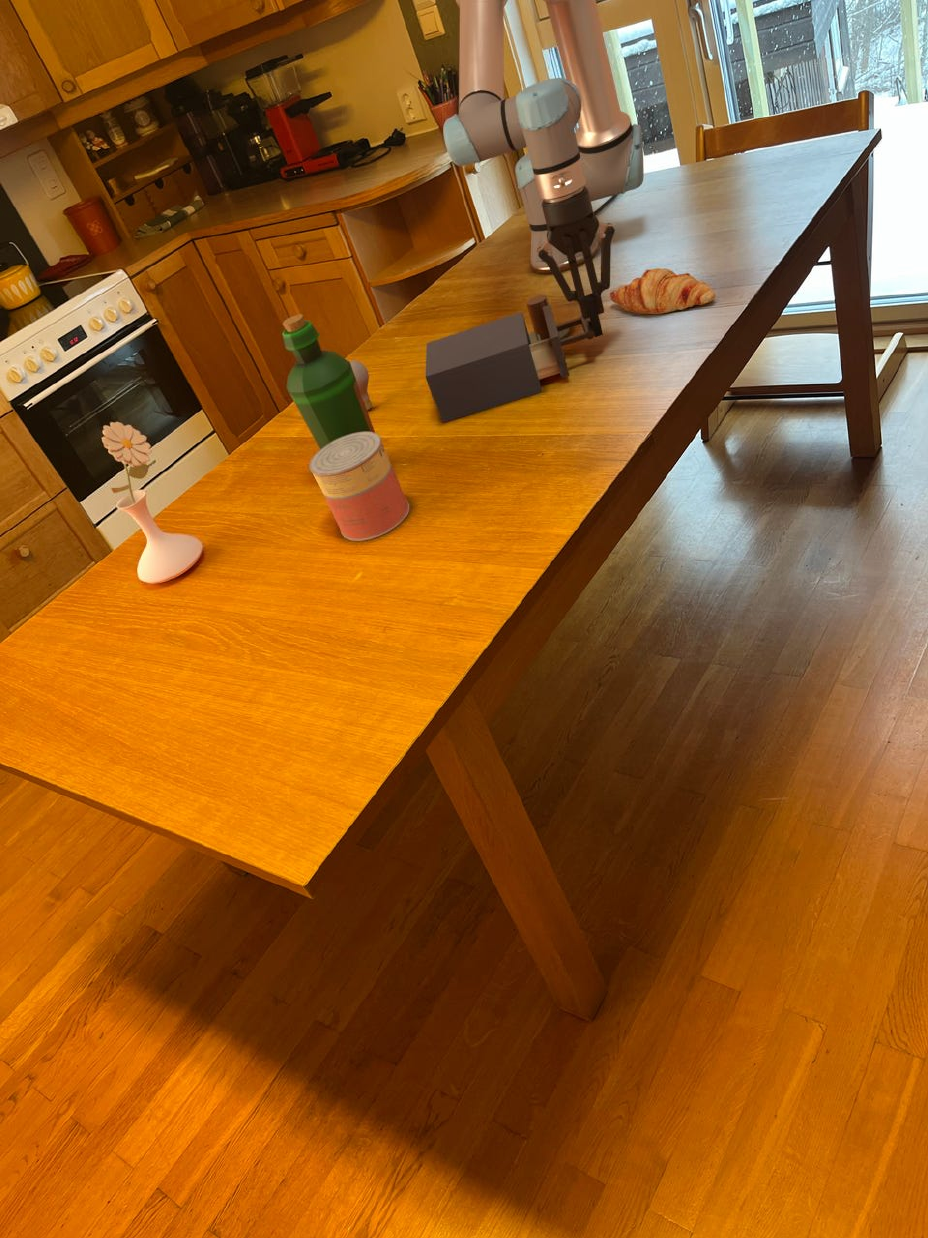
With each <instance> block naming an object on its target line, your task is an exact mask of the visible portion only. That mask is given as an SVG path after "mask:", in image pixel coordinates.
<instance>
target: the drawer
mask: <svg viewBox="0 0 928 1238" xmlns="http://www.w3.org/2000/svg"><path fill="white" fill-rule="evenodd" d="M543 310H544V314H545V318H546V322H547V327H548V331H549V335H550V338H548V339H545V340H542V341H539V342H536V343H533V344H530V345H529V347H530V351H531V354H532V358H533V361H534V364H535V368H536V371H537V375H538V378H539V380H540V381H541V380H543V379H545V378H548V377H552V376H555V375H560V377H561V379H562V378H565V377H568V376H570V372H569V369H568V368H569V367H568V365H567V361H566V358H565V353H564V350H563V347H565V346H568V345H571V344H574V343H577V342H578V343H579V342H581V341H584V340H588V341H591V340H593V339H594V338H595V334H594V331H593V328H592V325H591V322H590V319H589V318H587V319H584V318H583V317H582V314H580V316H579V317H577V318H575V319H571V320H569V321H565V322H562V323H558V324H559V325H556V324H557V323H556V321H555V317H554V312H553V309H552V306H551V304H549V305H548V306H545V307H543ZM577 326H581V328H582V331H583V332H580V333H577V334H574V335H571V336H567V337H566V338H565V339H562V340H560V339H559V335H558V332H559V331H562V330H565V329H568V328H569V329H570V328H571V329H572V328H574V327H577Z"/></svg>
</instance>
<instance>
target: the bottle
mask: <svg viewBox="0 0 928 1238" xmlns="http://www.w3.org/2000/svg"><path fill="white" fill-rule="evenodd" d="M282 325H283V326H284V328H285V329H284V330H283V331H282V333H281V334H282V338H283V342H284V343H283V344H284V347H285V349H286V350H287V351H291V353H292V354H293V356H294V358H295V360H296V361H295V363H294V365H293V366H292V368H291V370H290V371H289V373H288V376H287V381H286V391H287V392H288V394H289V396H290V398H291V399H292V401H293V402H294V405H295V407H296V408H297V410H298V412H299V413H300V416H301V417H302V419H303V421H304V423H305V425H306V427H307V428H308V430H309V431H310V433H311V435H312V438H313V439H314V440H315V442H316V445H317V446H318V448H319V450H320V449H321V448H323V447H324V446H326V445H327V444H329V443H330V442H332V441H334V440H336V439H338V438H341V437H343V436H346V435H349V434H353V433H357V432H374V433H376V430H375V428H374V425H373V422H372V420H371V417H370V414H369V411H367V408H366V406H365V403H364V400H363V397H362V395H361V392H360V389H359V386H358V384H357V381H356V378H355V375H354V372H353V370H352V367H351V364H350V362H349V361H350V360H348V359H346V358H344V357H343V356H342V355H340V354H339V353H337V351H336V352H335V351H331V350H330V351H329V350H322V348H321V346H320V343H319V337H320V333H319V332H318V330H317V329H316V327H315V326H314V324H313V323H312V321H310V320H308V319H307V320H305V318H304V314H302V313H301V314H300V313H299V314H295V315H293V316H290V317H288V318H286V319H285V320H283V322H282Z"/></svg>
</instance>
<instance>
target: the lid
mask: <svg viewBox="0 0 928 1238" xmlns="http://www.w3.org/2000/svg"><path fill="white" fill-rule="evenodd" d="M525 304H526V308H527V311H528V316H529V318H530V322H531V325H532V329H533V331H532V332H530V333H528V334H529V338H530V341H531V344H533V343H536V342H539V341H542V340H545V339H548V338H550V335H549V331H548V327H547V322H546V318H545V314H544V310H543V307H545V306H548V305H550V302H549V298H548V296H547V294H537V295H535V296H532V297H530V298H528V299H527V300H526V302H525ZM555 324H556V325H559V324H560V323H555ZM570 331H571V330H570V328H568V329H565V330H562V331H559V332H558V335H559V339H560V340H562V339H565V338H568V337H569V334H570Z"/></svg>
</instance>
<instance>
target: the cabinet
mask: <svg viewBox="0 0 928 1238" xmlns="http://www.w3.org/2000/svg"><path fill="white" fill-rule="evenodd" d="M527 327H528V326H527V324H526V321H525V318H524V313H523V311H519V312H517V313H514V314H510V315H507V316H504V317H502V318H498V319H495V320H491V321H489V322H487V323H483V324H480V325H477V326H474V327H472V328H471V327H470V328H468V329H465V330H462V331H459V332H456V333H454V334H450V335H448V336H444V337H442V338H438V339H435V340H431V341H429V342H426V353H425V380H426V383H427V386H428V388H429V390H430V394H431V395H432V398H433V401H434V404H435V407H436V409H437V412H438V414H439V417H440V420H441V422H442V424H444V423H447V422H452V421H455V420H457V419H458V420H459V419H460V418H464V417H467V416H469V415H474V414H477V413H480V412H482V411H483V412H484V411H486V410H489V409H493V408H495V407H498V406H502V405H505V404H508V403H512V402H515V401H518V400H522V399H525V398H527V397H531V396H534V395H537V394H541V393H543V389H542V383H541V379H540V380H539V378H538V375H537V371H536V368H535V364H534V361H533V358H532V354H531V351H530V347H529V345H530V344H531V341H530V338H529V334H530V333H529V331H528V328H527Z"/></svg>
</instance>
